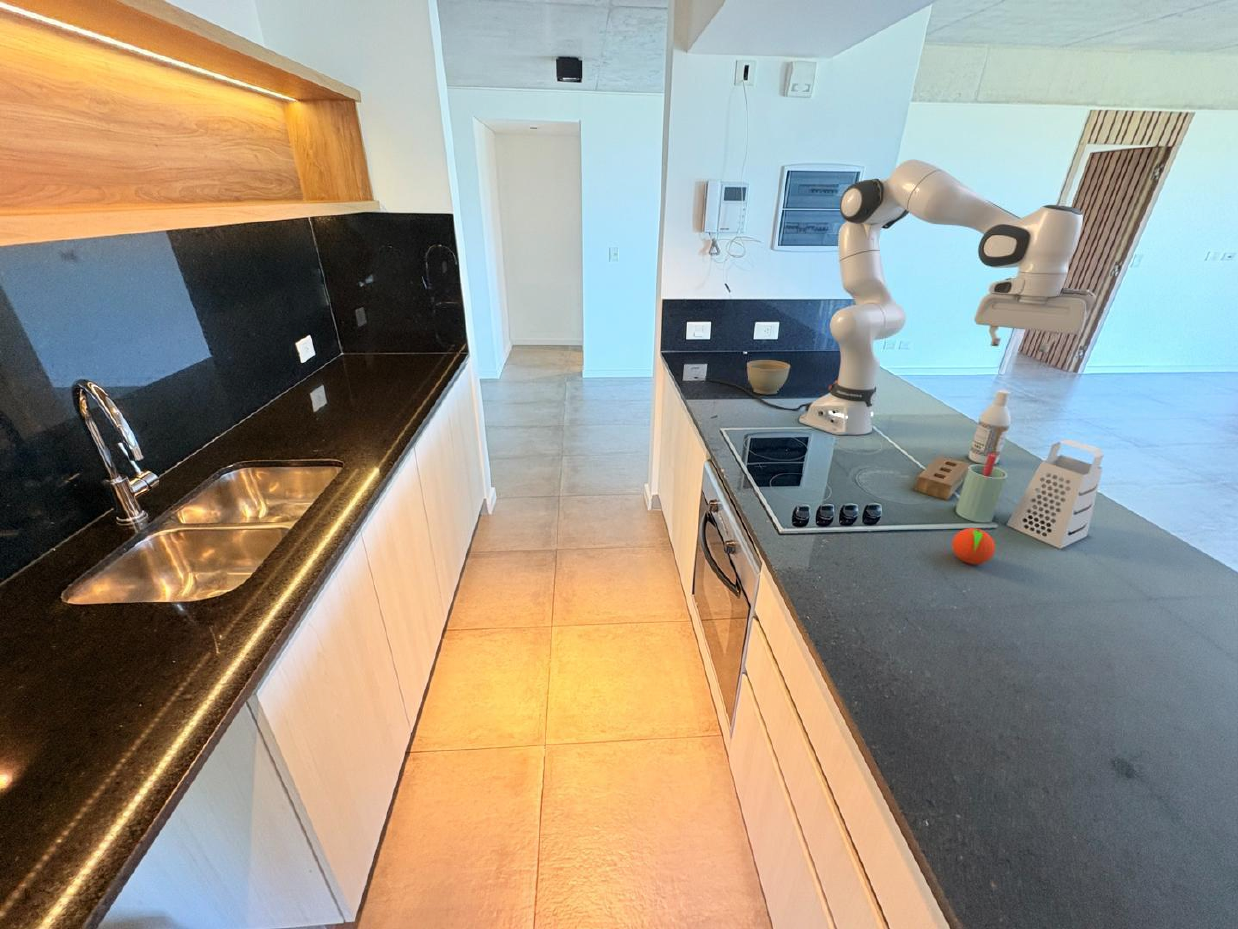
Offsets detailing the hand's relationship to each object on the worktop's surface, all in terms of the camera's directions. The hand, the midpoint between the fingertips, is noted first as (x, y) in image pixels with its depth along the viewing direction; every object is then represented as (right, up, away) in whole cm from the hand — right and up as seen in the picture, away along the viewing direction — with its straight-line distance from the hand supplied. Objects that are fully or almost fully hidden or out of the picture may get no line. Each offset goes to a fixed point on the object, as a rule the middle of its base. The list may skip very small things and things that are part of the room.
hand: (1018, 348), depth 123 cm
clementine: (-24, -46, -19) cm, 56 cm away
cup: (-12, -38, -2) cm, 40 cm away
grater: (0, -41, -8) cm, 42 cm away
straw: (-12, -38, -2) cm, 40 cm away
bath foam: (+9, -26, +25) cm, 37 cm away
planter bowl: (-35, +2, +86) cm, 93 cm away
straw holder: (-11, -32, +12) cm, 36 cm away
